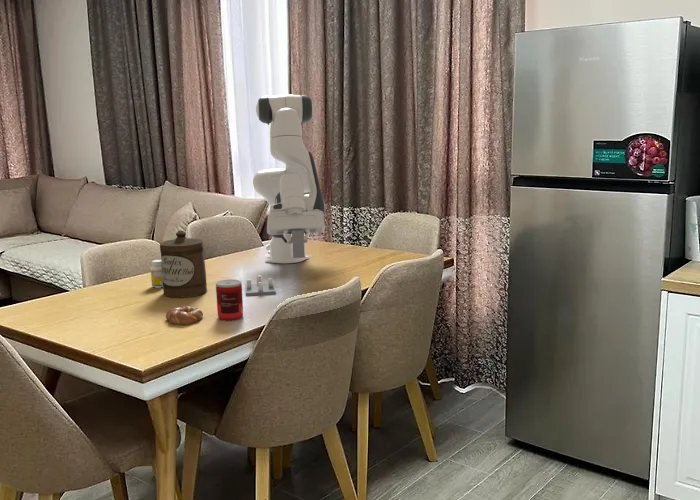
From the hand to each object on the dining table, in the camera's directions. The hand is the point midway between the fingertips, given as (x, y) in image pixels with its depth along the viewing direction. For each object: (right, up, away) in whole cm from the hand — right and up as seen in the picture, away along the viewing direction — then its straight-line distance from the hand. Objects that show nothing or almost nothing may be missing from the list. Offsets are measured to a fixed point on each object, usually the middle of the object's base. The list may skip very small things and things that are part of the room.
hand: (297, 242), depth 236 cm
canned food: (-18, -23, -28) cm, 41 cm away
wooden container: (-40, -18, +3) cm, 43 cm away
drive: (0, -5, +2) cm, 5 cm away
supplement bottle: (-51, -16, +13) cm, 55 cm away
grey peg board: (-13, -17, +4) cm, 22 cm away
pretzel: (-32, -24, -30) cm, 50 cm away
